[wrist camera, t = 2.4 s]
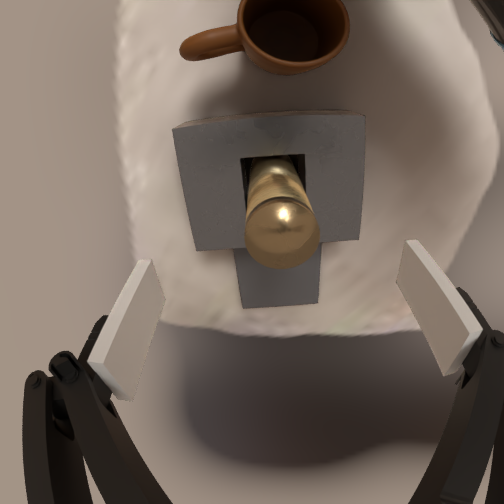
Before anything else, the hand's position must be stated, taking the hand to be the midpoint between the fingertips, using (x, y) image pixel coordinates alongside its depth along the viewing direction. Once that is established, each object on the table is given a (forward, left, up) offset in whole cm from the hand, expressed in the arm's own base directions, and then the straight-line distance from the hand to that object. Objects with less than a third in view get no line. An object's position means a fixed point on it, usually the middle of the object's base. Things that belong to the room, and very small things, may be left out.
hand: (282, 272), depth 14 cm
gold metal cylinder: (0, 0, -17) cm, 17 cm away
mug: (-13, 0, -17) cm, 22 cm away
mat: (+13, 0, -17) cm, 21 cm away
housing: (0, 0, -17) cm, 17 cm away
